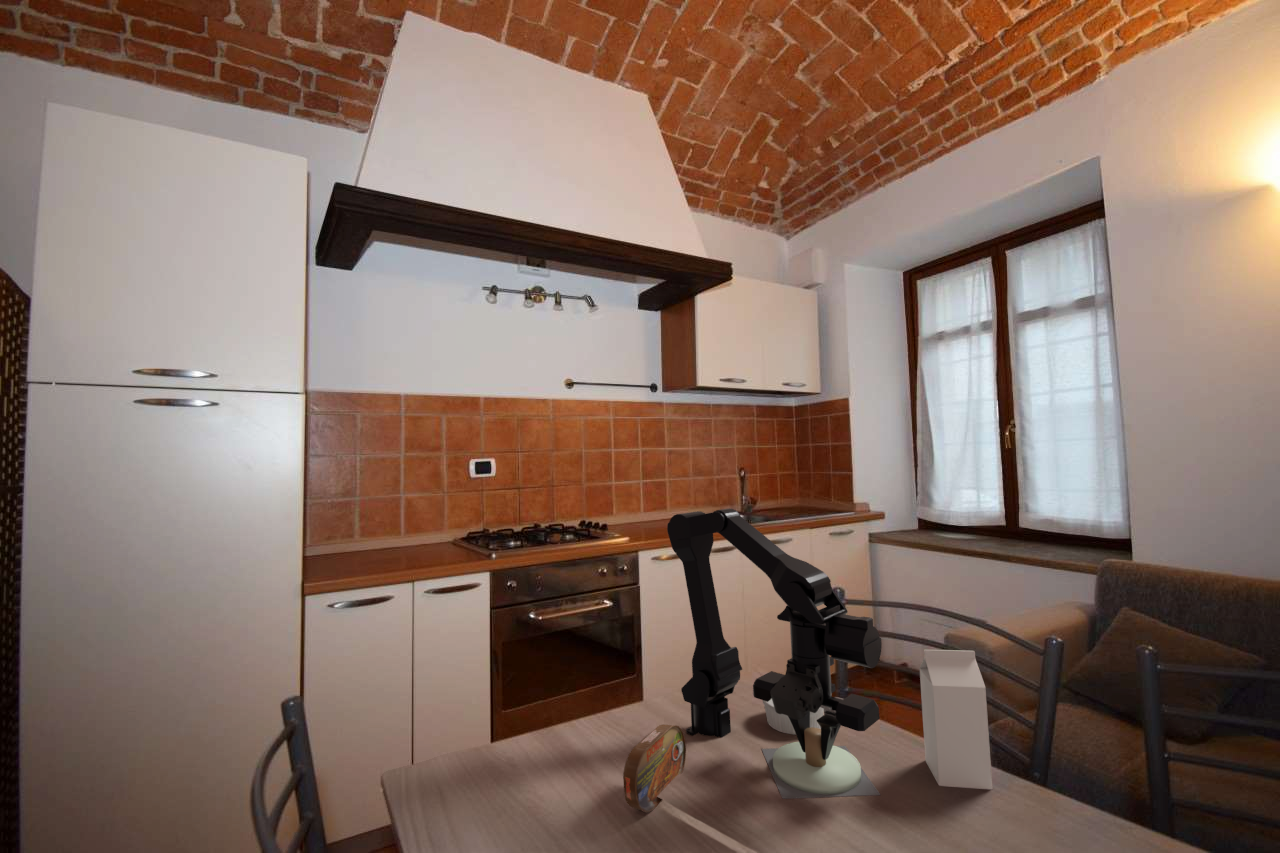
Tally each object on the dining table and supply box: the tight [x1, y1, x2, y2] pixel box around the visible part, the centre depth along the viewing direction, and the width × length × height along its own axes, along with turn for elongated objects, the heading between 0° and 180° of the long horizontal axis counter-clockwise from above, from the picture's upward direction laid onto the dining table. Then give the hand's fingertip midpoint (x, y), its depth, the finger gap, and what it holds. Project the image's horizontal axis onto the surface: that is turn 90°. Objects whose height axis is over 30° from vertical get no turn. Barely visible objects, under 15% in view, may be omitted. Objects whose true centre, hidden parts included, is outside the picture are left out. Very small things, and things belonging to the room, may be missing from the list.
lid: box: [773, 727, 862, 794], centre depth 89 cm, size 13×13×6 cm
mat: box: [761, 745, 881, 800], centre depth 89 cm, size 14×14×1 cm
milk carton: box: [919, 649, 993, 790], centre depth 87 cm, size 7×7×19 cm
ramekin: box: [762, 699, 824, 736], centre depth 105 cm, size 11×11×5 cm
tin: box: [622, 724, 687, 813], centre depth 86 cm, size 15×3×8 cm, turn 149°
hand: (815, 755), depth 89 cm, fingers closed on lid, 3 cm apart
